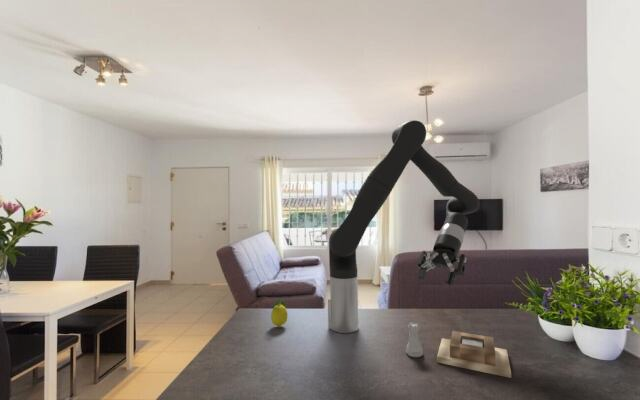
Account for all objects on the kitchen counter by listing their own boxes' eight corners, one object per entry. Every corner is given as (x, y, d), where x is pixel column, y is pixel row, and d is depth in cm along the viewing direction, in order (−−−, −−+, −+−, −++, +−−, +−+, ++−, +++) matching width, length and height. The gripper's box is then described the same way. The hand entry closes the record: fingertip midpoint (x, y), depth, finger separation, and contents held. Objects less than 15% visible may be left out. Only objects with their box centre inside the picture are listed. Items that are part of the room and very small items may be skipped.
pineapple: (272, 332, 96) (272, 301, 96) (266, 326, 101) (266, 296, 101) (291, 328, 99) (291, 298, 100) (285, 322, 104) (284, 293, 105)
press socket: (437, 362, 76) (436, 344, 76) (442, 343, 86) (441, 327, 87) (511, 378, 68) (510, 358, 68) (506, 355, 79) (506, 338, 79)
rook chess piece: (424, 358, 78) (423, 327, 78) (406, 357, 79) (405, 326, 79) (421, 350, 82) (421, 321, 82) (405, 349, 83) (404, 320, 83)
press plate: (461, 348, 76) (461, 345, 76) (462, 341, 81) (462, 338, 81) (482, 352, 74) (482, 349, 74) (482, 344, 78) (482, 341, 78)
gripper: (424, 232, 100) (407, 271, 92) (468, 233, 90) (453, 278, 82) (433, 246, 104) (417, 285, 96) (476, 249, 93) (462, 294, 85)
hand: (433, 282), depth 89 cm, fingers open, 8 cm apart
